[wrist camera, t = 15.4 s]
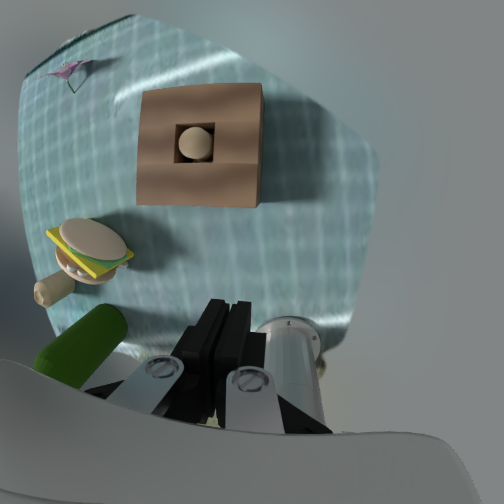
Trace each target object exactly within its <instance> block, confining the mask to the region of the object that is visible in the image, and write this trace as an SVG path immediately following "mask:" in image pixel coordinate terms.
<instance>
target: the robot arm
mask: <svg viewBox="0 0 504 504" xmlns="http://www.w3.org/2000/svg"><path fill="white" fill-rule="evenodd" d="M229 310H230V307H229V304H228V303H225V300H221V299H211V300H210V302H209V303H208V305H207V307H206V309H205V310H204V312H203V314H202V316H201V317H200V319H199V321H198V323H197V324H196V326H188V327H187V329H186V330H185V332H184V333H183V335H182V337H181V338H180V340H179V342H178V343H177V345H176V346H175V348H174V350H173V351H172V353H171V355H170V356H169V355H158V356H153V357H151V358H148V359H147V360H145V361H144V362H143V363H142V364H141V365H140V366H139V367H138V368H137V369H136V370H135V371H134V372H133V373H132V374H131V375H130V376H129V377H128V378H127V379H126V380H123V381H119V382H116V383H111V384H107V385H103V386H100V387H95V388H91V389H88V390H86V391H84V392H83V391H81V390H80V389H75V388H73V387H71V386H68V385H66V384H64V383H61V382H59V381H57V380H55V379H53V378H50V377H48V376H46V375H44V374H42V373H39V372H37V371H35V370H33V369H31V368H29V367H26V366H24V365H21V364H19V363H15V362H12V361H8V360H1V359H0V504H482V502H481V499H480V497H479V494H478V492H477V489H476V487H475V485H474V483H473V480H472V478H471V476H470V474H469V472H468V471H467V469H466V467H465V465H464V464H463V462H462V460H461V459H460V457H459V456H458V454H457V453H456V452H455V450H454V449H452V447H451V446H450V445H449V444H447V443H446V442H445V441H443V440H441V439H439V438H437V437H434V436H430V435H425V434H418V433H411V432H391V431H387V432H363V433H362V432H361V433H354V432H344V431H342V433H339V434H333V432H332V431H331V430H330V429H329V428H327V427H326V423H325V418H324V412H323V406H322V400H321V394H320V388H319V381H318V376H317V370H316V364H315V361H316V359H317V358H318V356H319V353H320V348H321V343H320V338H319V335H318V333H317V331H316V330H315V329H314V327H313V326H312V325H310V324H309V323H308V322H306V321H304V320H302V319H298V318H295V317H280V318H275V319H272V320H270V321H267V322H266V323H264V324H263V325H261V326H260V327H259V328H258V329H257V331H256V332H250V326H251V302H245V301H238V303H237V304H232V307H231V310H230V312H229ZM288 321H290V322H288ZM215 409H216V415H217V418H218V425H219V426H220V427H221V428H218V427H211V426H205V425H206V423H207V419H208V417H212V418H213V416H214V413H215ZM197 423H199V424H205V425H199V424H197Z"/></svg>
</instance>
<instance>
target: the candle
mask: <svg viewBox="0 0 504 504" xmlns="http://www.w3.org/2000/svg"><path fill="white" fill-rule="evenodd" d="M74 290H75V279H74V278H72V277H71V276H69V275H68V274H67V273H66V272H65V271H64V270H60V271H58V272H56V273H54V274H52V275H50V276H48V277H46V278H44V279H42V280H40V281H38V282H37V283H36V284H35V288H34V298H35V300H36V302H37V303H38V304H40V305H42V306H43V307H46V308H48V307H50V306H52V305H53V304H55V303H56V302H58V301H59V300H61V299H63V298H64V297H66V296H67V295H69V294H70V293H72V292H73V291H74Z"/></svg>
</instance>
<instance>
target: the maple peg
mask: <svg viewBox="0 0 504 504" xmlns="http://www.w3.org/2000/svg"><path fill="white" fill-rule="evenodd" d="M179 149H180V151H181V152H182V154H183V155H185V156H186V157H189V158H193V159H196V160H200V161H204V162H210V161H213V156H214V136H212V135H211V134H209V133H208V132H206V131H205V130H203V129H202V128H199V127H192V128H189V129H187V130H186V131H184V132H183V134H182V135H181V137H180V139H179Z"/></svg>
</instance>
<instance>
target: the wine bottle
mask: <svg viewBox="0 0 504 504" xmlns="http://www.w3.org/2000/svg"><path fill="white" fill-rule="evenodd" d="M126 333H127V324H126V321H125V319H124V317H123V316H122V314H121V313H120V312H119V311H118V310H117V309H116V308H115V307H113V306H111V305H108V304H100V305H98V306H96V307H95V308H94V309H92V310H91V311H90V312H89V313H87V314H86V315H85V316H83V317H82V318H81V319H80V320H78V321H77V322H76V323H74V324H73V325H72V326H71V327H69V328H68V329H67V330H66V331H64V332H63V333H62V334H61V335H60V336H58V337H57V338H56V339H55V340H53V341H52V342H51V343H50V344H49V345H47V346H46V347H45V348H44V349H43V350H41V351H40V352H39V353H38V355H37V356H36V358H35V361H34V366H33V370H35V371H37V372H39V373H42V374H44V375H46V376H48V377H50V378H53V379H55V380H57V381H59V382H61V383H64V384H66V385H68V386H71V387H73V388H75V389H80V388H81V387H82V385H83V384H84V383H85V382H86V381H87V379H88V378H89V377H90V376H91V375H92V374H93V373H94V372H95V370H96V369H97V368H98V367H99V366H100V365H101V364H102V363H103V361H104V360H105V359H106V358H107V357H108V356H109V355H110V353H111V352H112V351H113V350H114V349H115V348H116V347H117V346H118V345H119V344H120V342H121V341H122V340H123V339H124V338H125V336H126Z"/></svg>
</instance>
